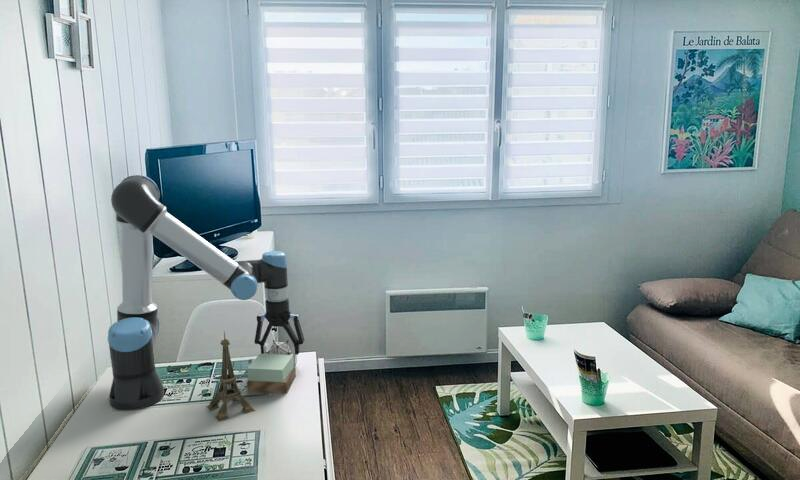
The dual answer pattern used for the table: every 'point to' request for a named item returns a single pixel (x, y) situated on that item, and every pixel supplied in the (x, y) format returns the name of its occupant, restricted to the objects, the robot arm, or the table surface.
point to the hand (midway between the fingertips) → (280, 363)
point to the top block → (270, 368)
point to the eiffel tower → (227, 392)
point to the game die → (280, 348)
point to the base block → (272, 385)
